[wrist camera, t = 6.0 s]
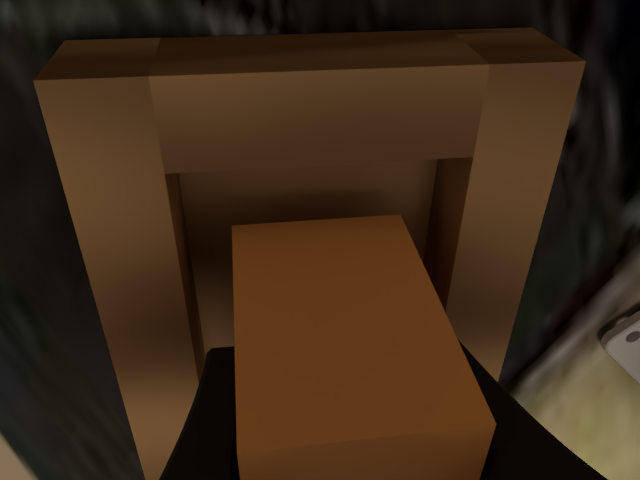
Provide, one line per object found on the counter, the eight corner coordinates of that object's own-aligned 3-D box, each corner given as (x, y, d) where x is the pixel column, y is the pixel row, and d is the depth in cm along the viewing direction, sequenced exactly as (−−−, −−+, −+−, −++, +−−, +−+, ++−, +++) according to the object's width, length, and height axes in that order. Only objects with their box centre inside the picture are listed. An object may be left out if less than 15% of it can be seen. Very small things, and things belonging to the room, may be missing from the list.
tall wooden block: (231, 225, 13) (237, 452, 8) (400, 214, 14) (496, 424, 9) (247, 395, 17) (257, 625, 12) (381, 381, 17) (443, 597, 12)
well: (64, 40, 12) (32, 80, 10) (531, 27, 13) (585, 61, 11) (155, 417, 19) (147, 484, 17) (454, 386, 21) (480, 446, 19)
